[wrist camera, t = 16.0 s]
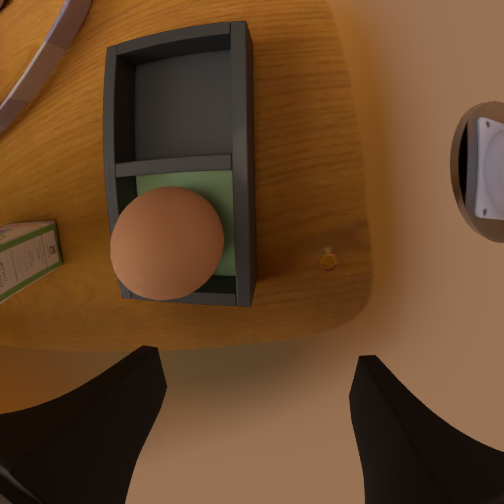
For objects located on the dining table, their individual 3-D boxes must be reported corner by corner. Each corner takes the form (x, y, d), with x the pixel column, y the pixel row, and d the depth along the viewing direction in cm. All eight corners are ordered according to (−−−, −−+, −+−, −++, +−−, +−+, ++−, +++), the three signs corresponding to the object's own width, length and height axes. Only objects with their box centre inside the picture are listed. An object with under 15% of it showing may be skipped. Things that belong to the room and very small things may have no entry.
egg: (246, 199, 16) (221, 230, 10) (216, 281, 18) (182, 348, 11) (161, 168, 16) (91, 180, 10) (140, 249, 18) (77, 297, 11)
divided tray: (252, 40, 14) (245, 19, 11) (256, 283, 19) (251, 307, 16) (130, 59, 15) (106, 47, 12) (141, 278, 20) (121, 298, 17)
